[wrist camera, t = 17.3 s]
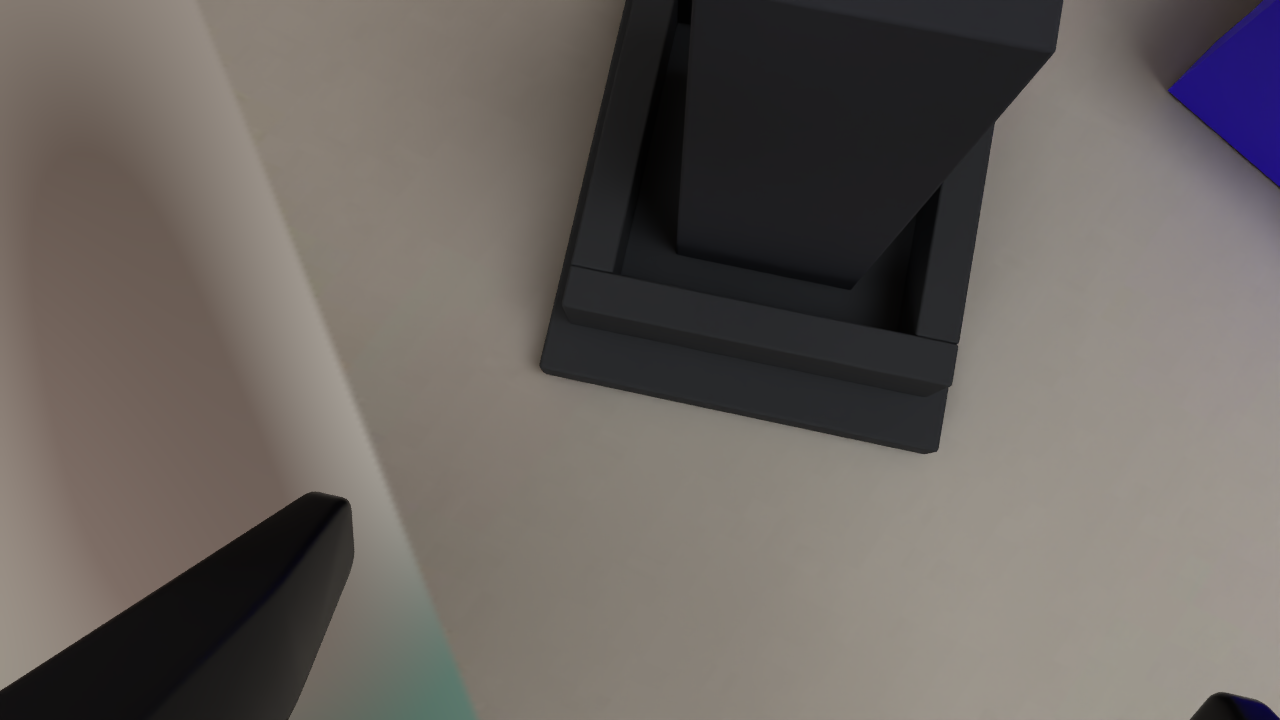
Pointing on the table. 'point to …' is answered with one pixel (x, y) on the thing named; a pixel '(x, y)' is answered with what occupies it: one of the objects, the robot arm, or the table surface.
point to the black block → (839, 121)
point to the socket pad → (749, 281)
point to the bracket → (1241, 87)
